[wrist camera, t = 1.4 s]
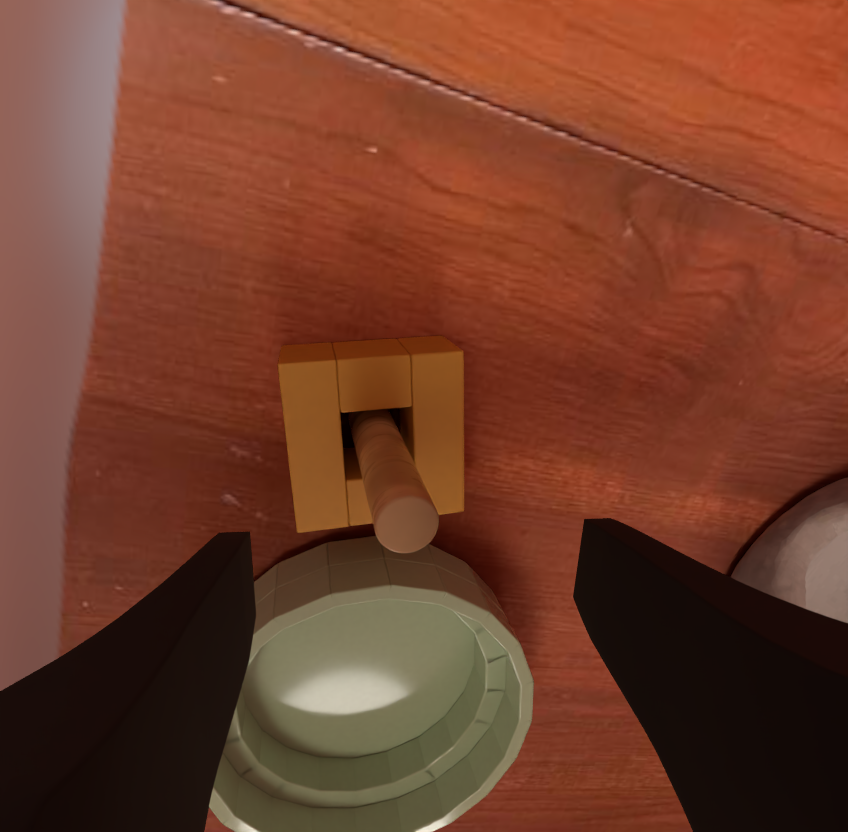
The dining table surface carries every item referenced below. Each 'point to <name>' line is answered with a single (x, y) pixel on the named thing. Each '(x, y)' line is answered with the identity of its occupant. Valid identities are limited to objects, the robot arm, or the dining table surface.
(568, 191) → the dining table surface
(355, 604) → the bowl
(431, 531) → the stick
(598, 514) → the dining table surface
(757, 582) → the dish
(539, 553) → the dining table surface
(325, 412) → the stand
